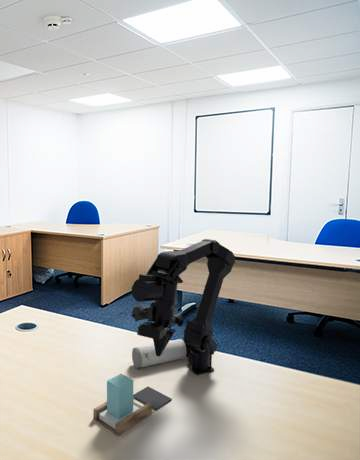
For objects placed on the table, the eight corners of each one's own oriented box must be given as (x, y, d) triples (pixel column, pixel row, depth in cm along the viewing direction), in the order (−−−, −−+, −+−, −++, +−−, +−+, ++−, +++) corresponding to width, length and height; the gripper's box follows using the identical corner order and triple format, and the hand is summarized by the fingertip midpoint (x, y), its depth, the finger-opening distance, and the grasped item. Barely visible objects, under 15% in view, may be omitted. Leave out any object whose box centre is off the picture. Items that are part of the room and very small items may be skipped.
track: (127, 398, 94) (127, 390, 93) (152, 413, 88) (152, 403, 88) (93, 418, 85) (93, 408, 85) (118, 435, 79) (118, 425, 79)
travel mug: (139, 360, 106) (197, 348, 115) (133, 343, 111) (189, 333, 120) (136, 373, 109) (192, 361, 118) (130, 356, 114) (184, 345, 123)
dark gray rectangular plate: (147, 387, 99) (147, 386, 99) (171, 400, 94) (171, 398, 94) (132, 396, 95) (132, 395, 95) (156, 410, 89) (156, 408, 89)
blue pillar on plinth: (124, 403, 91) (124, 369, 90) (140, 413, 87) (140, 378, 86) (99, 418, 85) (99, 382, 84) (115, 429, 81) (115, 391, 80)
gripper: (152, 290, 107) (146, 341, 107) (122, 298, 90) (115, 359, 89) (186, 296, 103) (180, 349, 103) (162, 306, 86) (154, 369, 86)
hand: (158, 355), depth 95 cm, fingers closed
